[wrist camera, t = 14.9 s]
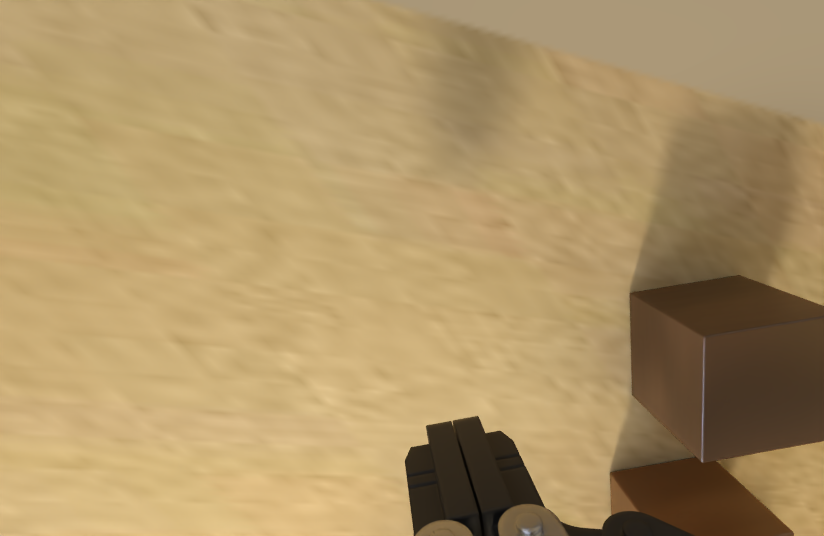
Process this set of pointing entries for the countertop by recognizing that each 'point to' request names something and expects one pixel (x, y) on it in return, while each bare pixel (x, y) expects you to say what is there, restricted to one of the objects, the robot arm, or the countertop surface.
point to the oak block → (694, 499)
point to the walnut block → (729, 365)
